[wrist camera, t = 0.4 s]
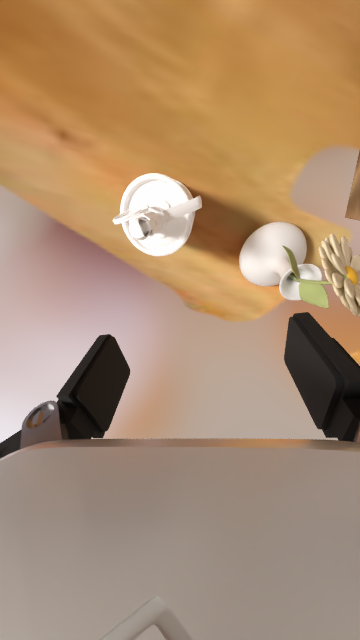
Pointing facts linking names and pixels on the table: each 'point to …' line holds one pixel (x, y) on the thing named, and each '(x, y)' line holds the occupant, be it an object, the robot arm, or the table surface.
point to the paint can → (157, 214)
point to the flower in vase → (301, 266)
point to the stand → (355, 195)
